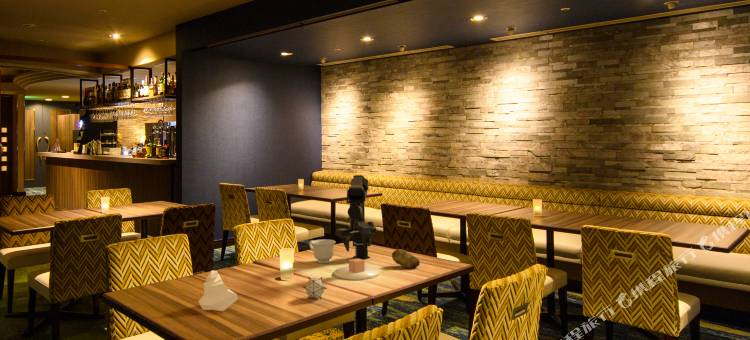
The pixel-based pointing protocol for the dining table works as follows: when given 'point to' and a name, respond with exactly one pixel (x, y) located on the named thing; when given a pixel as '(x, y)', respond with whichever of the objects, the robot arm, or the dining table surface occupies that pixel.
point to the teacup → (322, 249)
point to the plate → (346, 274)
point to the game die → (314, 288)
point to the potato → (405, 259)
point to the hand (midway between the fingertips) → (356, 250)
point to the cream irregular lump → (216, 294)
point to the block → (356, 265)
